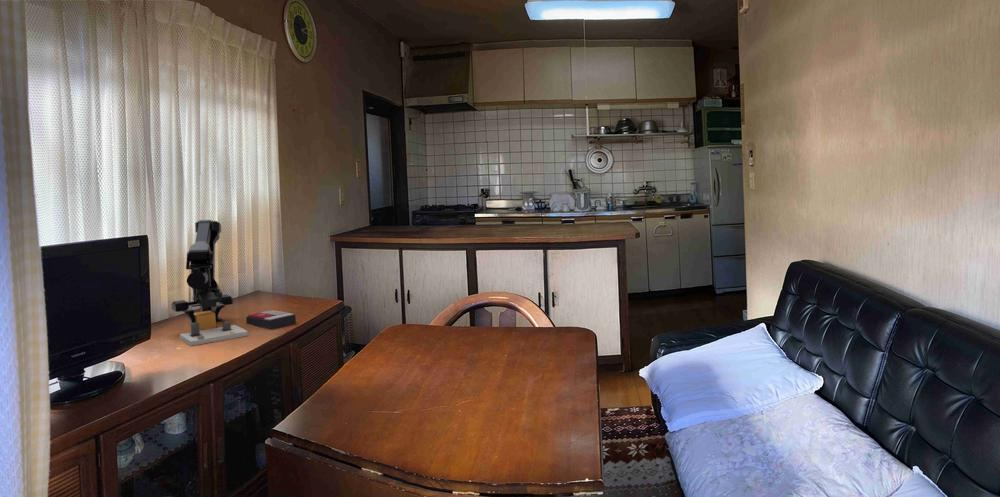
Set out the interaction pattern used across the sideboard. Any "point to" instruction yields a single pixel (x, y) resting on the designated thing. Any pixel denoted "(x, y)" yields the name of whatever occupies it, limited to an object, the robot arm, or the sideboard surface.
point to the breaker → (195, 329)
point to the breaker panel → (213, 335)
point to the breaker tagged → (226, 326)
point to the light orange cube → (205, 320)
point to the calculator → (271, 319)
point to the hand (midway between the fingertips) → (204, 326)
